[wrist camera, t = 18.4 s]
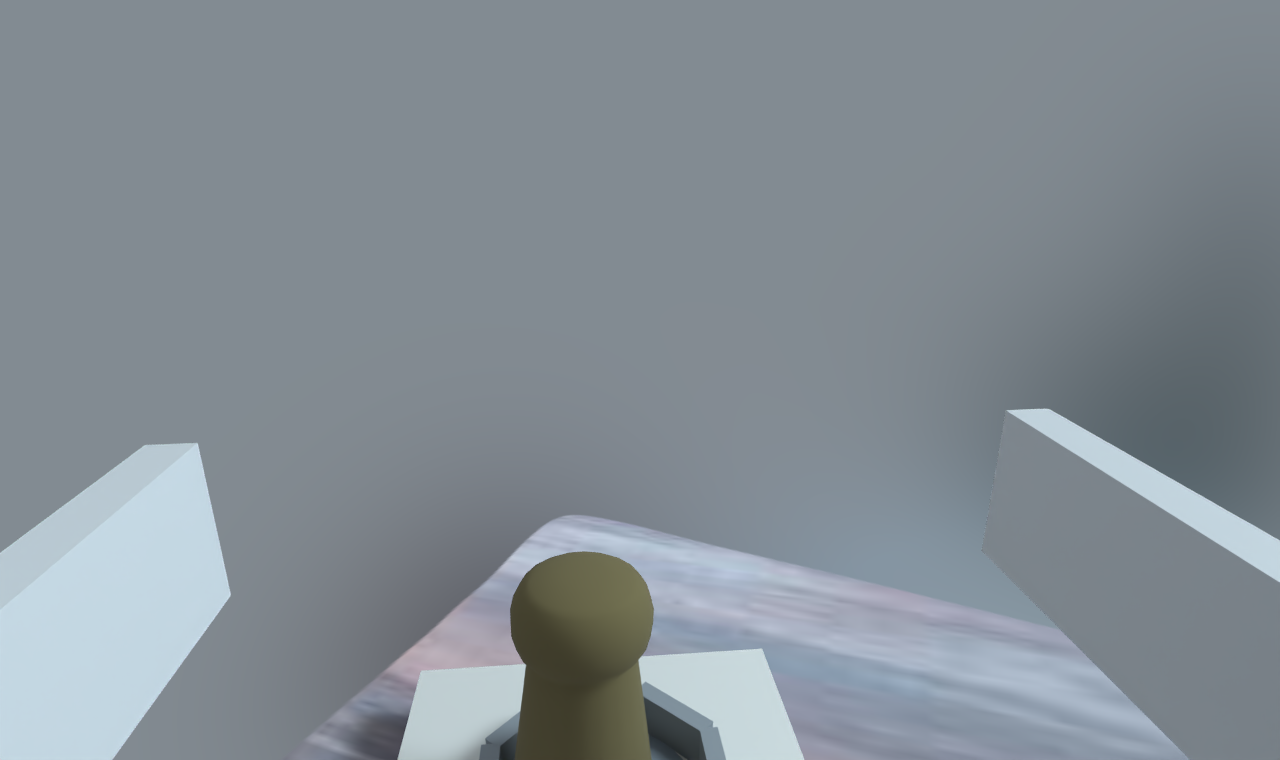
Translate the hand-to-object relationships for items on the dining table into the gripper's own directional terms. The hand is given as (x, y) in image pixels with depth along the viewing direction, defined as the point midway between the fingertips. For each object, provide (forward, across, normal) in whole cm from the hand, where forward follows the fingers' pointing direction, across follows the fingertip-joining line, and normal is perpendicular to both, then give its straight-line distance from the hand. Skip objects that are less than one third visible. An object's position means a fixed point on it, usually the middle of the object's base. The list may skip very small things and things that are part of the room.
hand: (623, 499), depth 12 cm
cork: (+11, -1, -20) cm, 23 cm away
